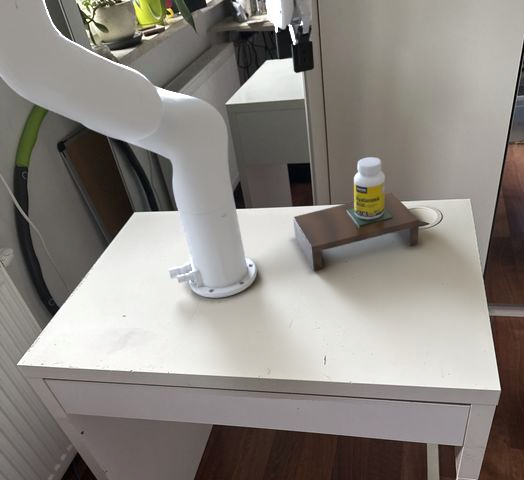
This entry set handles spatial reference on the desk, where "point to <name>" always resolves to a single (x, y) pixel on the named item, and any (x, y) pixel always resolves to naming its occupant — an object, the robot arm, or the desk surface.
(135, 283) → the desk surface
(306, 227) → the shelf
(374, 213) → the supplement bottle
